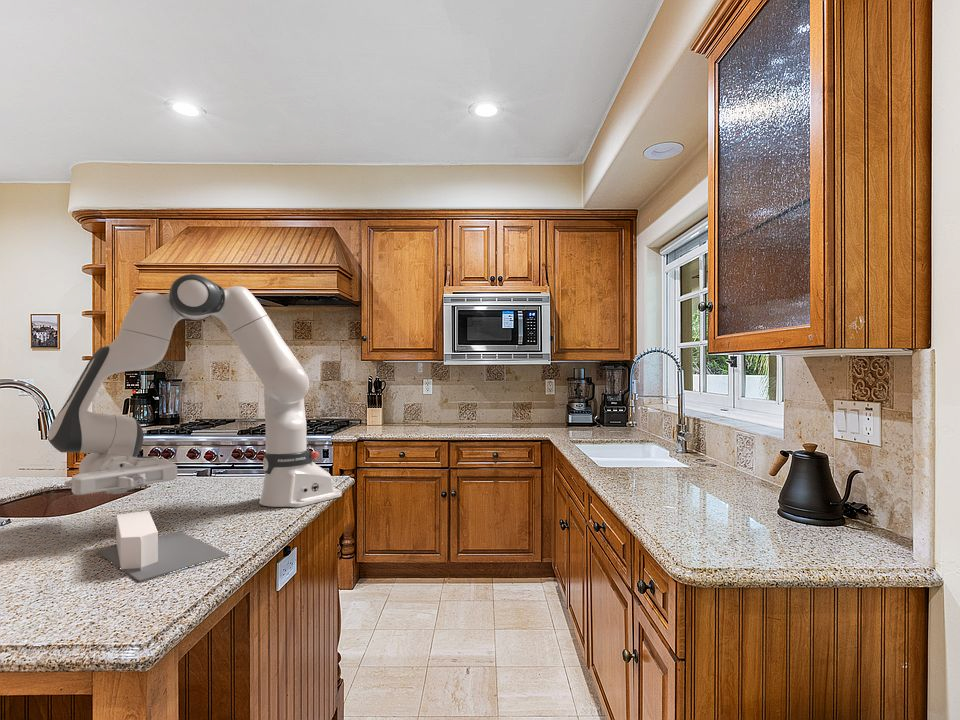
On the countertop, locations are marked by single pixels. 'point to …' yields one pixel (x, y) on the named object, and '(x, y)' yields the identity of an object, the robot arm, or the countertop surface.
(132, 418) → the robot arm
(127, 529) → the milk
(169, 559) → the mat
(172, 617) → the countertop surface
